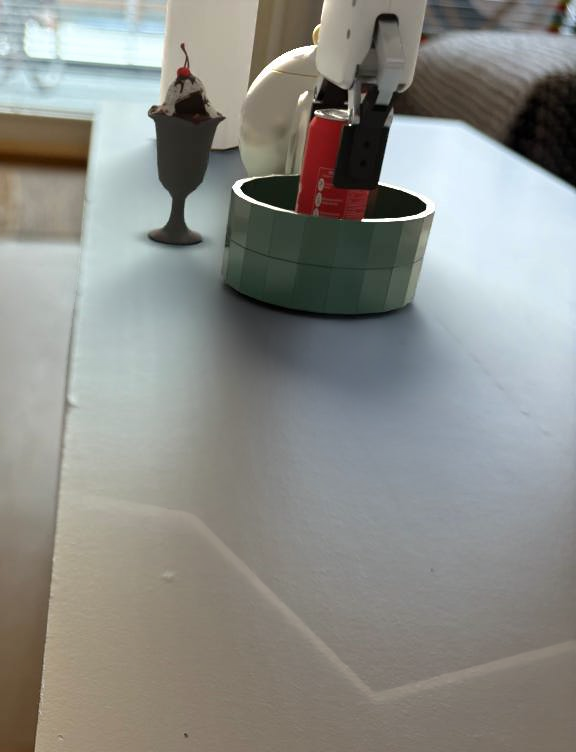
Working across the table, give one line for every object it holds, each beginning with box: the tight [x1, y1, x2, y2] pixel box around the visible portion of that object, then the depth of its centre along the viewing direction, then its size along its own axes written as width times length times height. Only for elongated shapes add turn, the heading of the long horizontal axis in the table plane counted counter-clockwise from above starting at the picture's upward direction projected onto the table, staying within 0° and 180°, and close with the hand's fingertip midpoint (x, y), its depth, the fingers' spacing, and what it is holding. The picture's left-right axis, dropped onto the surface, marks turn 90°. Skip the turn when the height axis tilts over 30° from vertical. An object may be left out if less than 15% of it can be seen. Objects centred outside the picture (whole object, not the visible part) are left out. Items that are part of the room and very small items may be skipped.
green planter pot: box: [220, 174, 436, 315], centre depth 76 cm, size 15×15×7 cm
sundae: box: [147, 43, 226, 245], centre depth 84 cm, size 7×7×15 cm
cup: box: [158, 0, 260, 151], centre depth 122 cm, size 11×11×18 cm
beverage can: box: [295, 109, 369, 219], centre depth 74 cm, size 5×5×12 cm
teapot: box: [238, 24, 366, 177], centre depth 93 cm, size 18×14×16 cm
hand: (337, 173), depth 73 cm, fingers open, 9 cm apart
